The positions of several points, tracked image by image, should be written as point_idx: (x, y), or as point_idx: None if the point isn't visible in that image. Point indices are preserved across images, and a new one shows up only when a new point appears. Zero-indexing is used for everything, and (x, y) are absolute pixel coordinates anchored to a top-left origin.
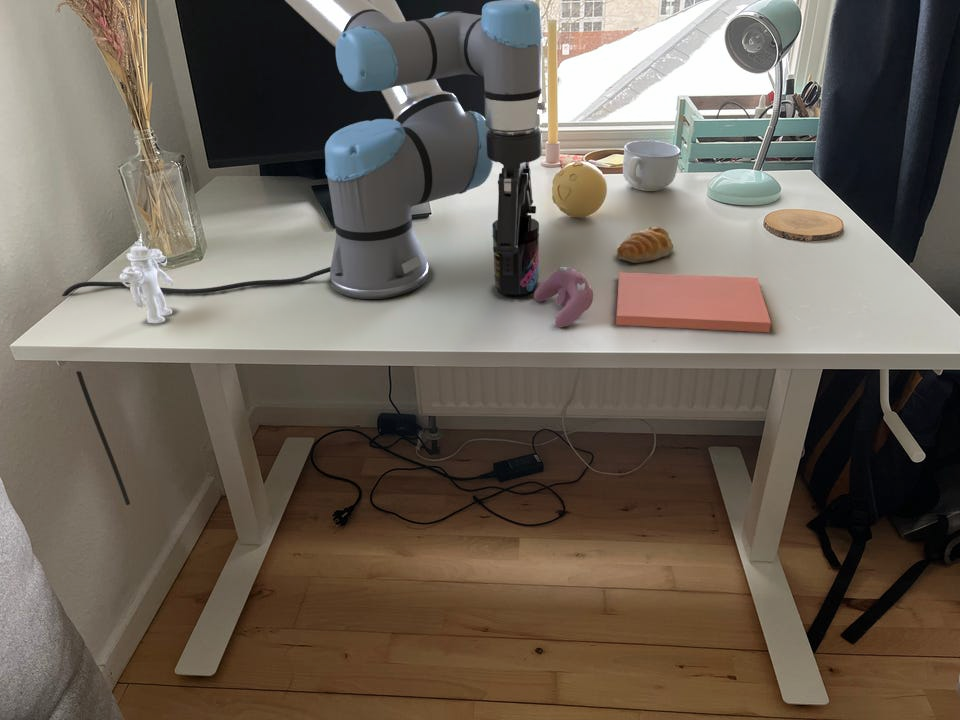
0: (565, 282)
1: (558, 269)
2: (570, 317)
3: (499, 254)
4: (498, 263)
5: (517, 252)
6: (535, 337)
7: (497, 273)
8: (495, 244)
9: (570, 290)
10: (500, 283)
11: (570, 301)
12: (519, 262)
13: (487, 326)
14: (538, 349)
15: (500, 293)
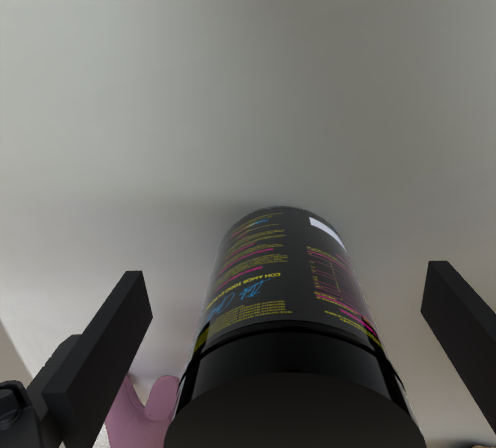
0: (152, 443)
1: None
2: None
3: (50, 380)
4: (216, 283)
5: (68, 445)
6: (57, 328)
7: (229, 253)
8: (218, 323)
9: (132, 444)
10: (112, 293)
11: (109, 431)
12: (113, 399)
13: (60, 226)
14: (15, 338)
15: (125, 272)
